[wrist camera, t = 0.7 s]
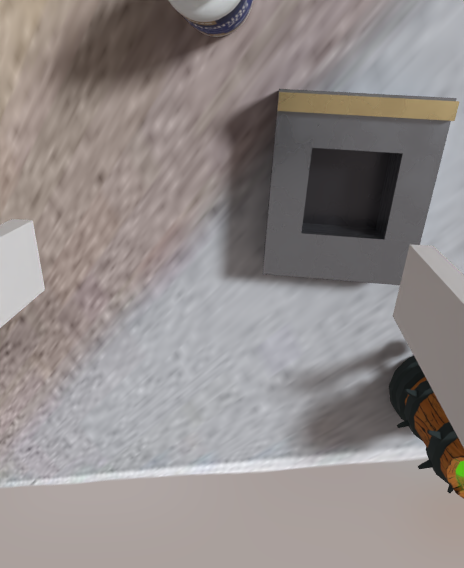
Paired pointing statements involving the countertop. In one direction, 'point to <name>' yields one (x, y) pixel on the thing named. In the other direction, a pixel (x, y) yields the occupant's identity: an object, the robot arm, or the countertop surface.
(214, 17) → the pill bottle
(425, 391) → the mug
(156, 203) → the countertop surface
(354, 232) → the jig
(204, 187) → the countertop surface
